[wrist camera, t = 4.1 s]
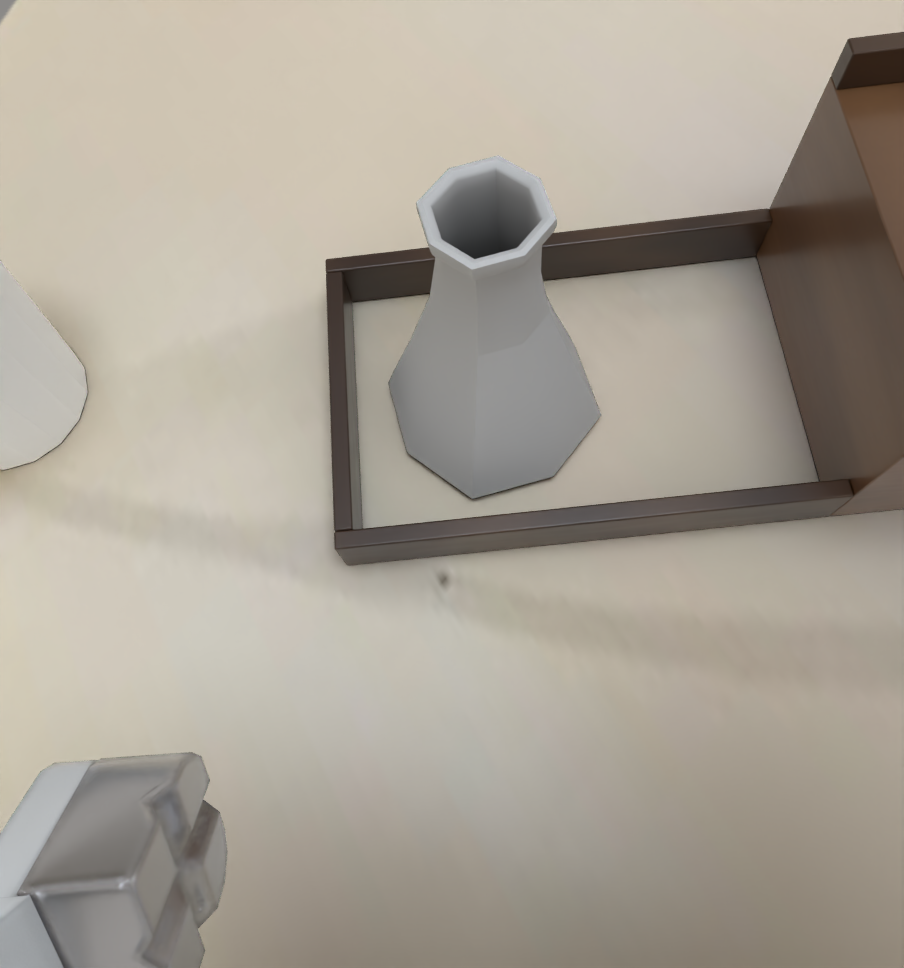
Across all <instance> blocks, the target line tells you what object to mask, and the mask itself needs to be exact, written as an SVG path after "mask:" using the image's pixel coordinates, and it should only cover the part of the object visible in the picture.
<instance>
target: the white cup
mask: <svg viewBox="0 0 904 968" xmlns="http://www.w3.org/2000/svg"><path fill="white" fill-rule="evenodd" d="M87 394H88V391H87V383H86V375H85V368H84V367H83V365H82V364H81V362H80V361H79V360H78V358H77V357H76V355H75V354H74V352H73V351H72V350H71V348H70V347H69V346H68V345H67V343H66V342H65V341H64V340H63V338H62V337H61V336H60V334H59V333H58V332H57V331H56V329H55V328H54V327H53V326H52V324H51V323H50V322H49V321H48V319H47V318H46V317H45V316H44V314H43V313H42V312H41V311H40V309H39V308H38V307H37V306H36V304H35V303H34V302H33V300H32V299H31V298H30V297H29V295H28V294H27V293H26V292H25V290H24V289H23V288H22V287H21V285H20V284H19V283H18V282H17V280H16V279H15V278H14V277H13V275H12V274H11V273H10V271H9V270H8V269H7V268H6V266H5V265H4V264H3V263H2V261H1V260H0V469H2V470H6V469H9V468H13V467H16V466H20V465H23V464H27V463H30V462H34V461H36V460H37V459H39V458H40V457H42V456H43V455H45V454H46V453H48V452H49V451H50V450H52V449H53V448H55V447H56V446H58V445H59V444H61V443H62V441H63V440H64V439H65V437H66V436H67V435H68V434H69V432H70V431H71V430H72V428H73V427H74V426H75V424H76V423H77V422H78V421H79V419H80V416H81V413H82V410H83V406H84V403H85V400H86V397H87Z"/></svg>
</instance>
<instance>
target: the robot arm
mask: <svg viewBox="0 0 904 968" xmlns="http://www.w3.org/2000/svg"><path fill="white" fill-rule="evenodd" d="M209 781H210V779H209V776H208V774H207V771H206V768H205V765H204V763H203V760H202V757H201V756H199V755H197V754H195V753H192V752H188V753H174V754H160V755H146V756H132V757H117V758H103V759H100V760H89V761H75V762H60V763H53V764H52V765H50V766H49V767H47V768H45V769H44V770H42V771H41V772H40V773H39V774H38V776H37V777H36V779H35V780H34V782H33V784H32V785H31V787H30V788H29V790H28V791H27V793H26V794H25V796H24V797H23V799H22V800H21V802H20V804H19V805H18V807H17V808H16V810H15V811H14V813H13V814H12V816H11V817H10V819H9V820H8V822H7V823H6V825H5V827H4V828H3V830H2V831H1V833H0V968H200V966H201V963H202V959H203V956H204V953H205V949H204V946H203V943H202V940H201V937H200V934H199V931H198V928H199V927H200V926H201V925H202V924H203V923H204V922H205V921H206V920H207V919H208V918H209V917H210V916H211V914H212V913H213V912H214V911H215V910H216V909H217V908H218V905H219V901H220V897H221V894H222V890H223V886H224V883H225V873H226V862H227V844H226V835H225V828H224V825H223V821H222V818H221V815H220V812H219V811H218V810H216V809H215V808H214V807H212V806H211V805H210V804H208V803H207V802H206V801H205V800H203V798H204V795H205V793H206V790H207V787H208V784H209Z"/></svg>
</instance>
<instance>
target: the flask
mask: <svg viewBox="0 0 904 968" xmlns="http://www.w3.org/2000/svg"><path fill="white" fill-rule="evenodd" d="M416 205H417V211H418V214H419V217H420V221H421V224H422V227H423V230H424V233H425V236H426V240H427V243H428V246H429V249H430V251H431V253H432V255H433V256H435V264H434V271H433V278H432V284H431V291H430V296H429V299H428V301H427V303H426V306H425V308H424V310H423V312H422V315H421V317H420V319H419V321H418V324H417V326H416V328H415V331H414V333H413V335H412V337H411V340H410V341H409V343H408V345H407V347H406V349H405V351H404V353H403V355H402V357H401V358H400V360H399V362H398V364H397V366H396V368H395V370H394V372H393V374H392V376H391V378H390V381H389V387H390V391H391V394H392V398H393V402H394V406H395V409H396V413H397V417H398V420H399V424H400V428H401V432H402V435H403V439H404V443H405V446H406V450H407V453H408V454H410V455H411V456H413V457H414V458H415V459H417V460H418V461H420V462H421V463H422V464H424V465H425V466H427V467H428V468H429V469H431V470H432V471H434V472H435V473H437V474H438V475H439V476H441V477H442V478H444V479H445V480H446V481H448V482H449V483H451V484H452V485H453V486H455V487H456V488H458V489H459V490H460V491H462V492H463V493H465V494H466V495H468V496H469V497H470V498H472V499H474V498H477V497H481V496H484V495H488V494H492V493H495V492H499V491H503V490H506V489H510V488H513V487H517V486H521V485H524V484H528V483H531V482H535V481H539V480H542V479H546V478H550V477H553V476H554V475H555V474H556V472H557V471H558V470H559V469H560V467H561V466H562V465H563V464H564V462H565V461H566V460H567V458H568V457H569V456H570V455H571V453H572V452H573V451H574V449H575V448H576V447H577V446H578V444H579V443H580V442H581V440H582V439H583V438H584V437H585V435H586V434H587V433H588V431H589V430H590V429H591V428H592V426H593V425H594V424H595V423H596V421H597V420H598V419H599V417H600V416H601V413H600V410H599V408H598V405H597V403H596V400H595V397H594V395H593V392H592V389H591V387H590V384H589V382H588V379H587V376H586V374H585V371H584V368H583V366H582V363H581V361H580V358H579V355H578V353H577V350H576V348H575V345H574V343H573V342H572V340H571V338H570V336H569V334H568V333H567V331H566V329H565V328H564V326H563V325H562V323H561V321H560V320H559V318H558V316H557V315H556V313H555V312H554V310H553V308H552V306H551V304H550V302H549V300H548V298H547V296H546V292H545V287H544V283H543V278H542V274H541V257H542V245H543V244H544V242H545V241H546V240H547V239H548V238H549V237H550V236H551V234H552V233H553V232H554V230H555V228H556V226H557V219H556V216H555V214H554V211H553V209H552V206H551V204H550V201H549V199H548V196H547V194H546V191H545V189H544V186H543V184H542V181H541V179H540V178H539V177H537V176H535V175H533V174H531V173H530V172H528V171H526V170H524V169H522V168H520V167H519V166H517V165H515V164H513V163H511V162H510V161H508V160H506V159H504V158H502V157H500V156H499V155H498V156H494V157H490V158H487V159H483V160H479V161H475V162H471V163H467V164H464V165H460V166H456V167H452V168H449V169H448V170H447V171H446V172H445V173H444V174H443V175H442V176H441V177H440V178H439V179H438V180H437V181H436V182H435V183H434V184H433V185H432V187H431V188H430V189H429V190H428V191H427V192H426V193H425V194H424V195H423V196H422V197H421V198H420V199H419V200H418V201H417V202H416Z"/></svg>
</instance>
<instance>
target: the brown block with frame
mask: <svg viewBox="0 0 904 968" xmlns="http://www.w3.org/2000/svg"><path fill="white" fill-rule="evenodd" d="M756 255H757V258H758V262H759V266H760V269H761V273H762V276H763V280H764V283H765V287H766V291H767V294H768V298H769V301H770V305H771V308H772V312H773V315H774V319H775V323H776V326H777V330H778V333H779V337H780V340H781V344H782V348H783V351H784V355H785V358H786V362H787V365H788V369H789V372H790V376H791V380H792V383H793V387H794V390H795V394H796V397H797V401H798V405H799V408H800V412H801V415H802V419H803V422H804V426H805V429H806V433H807V437H808V440H809V444H810V447H811V451H812V454H813V458H814V462H815V465H816V469H817V472H818V476H819V479H820V482H810V483H801V484H791V485H781V486H772V487H762V488H752V489H743V490H733V491H723V492H714V493H704V494H694V495H685V496H675V497H665V498H656V499H646V500H636V501H627V502H617V503H607V504H598V505H588V506H579V507H569V508H559V509H550V510H540V511H530V512H521V513H511V514H501V515H492V516H482V517H472V518H463V519H453V520H443V521H434V522H424V523H414V524H405V525H395V526H385V527H376V528H366V529H363V526H362V504H361V483H360V461H359V439H358V417H357V396H356V374H355V352H354V330H353V309H352V302H354V301H363V300H372V299H381V298H389V297H398V296H407V295H416V294H425V293H430V291H431V284H432V278H433V271H434V264H435V256H433V255H432V253H431V251H430V249H429V248H420V249H411V250H403V251H394V252H385V253H377V254H368V255H359V256H351V257H342V258H333V259H327V260H326V273H327V274H326V289H327V321H328V352H329V384H330V415H331V447H332V478H333V510H334V530H335V533H334V542H335V550H336V551H337V552H338V554H339V555H340V556H341V558H342V559H343V560H344V562H345V563H346V564H347V565H357V564H366V563H376V562H386V561H396V560H405V559H415V558H425V557H435V556H445V555H454V554H464V553H474V552H484V551H494V550H503V549H513V548H523V547H533V546H543V545H552V544H562V543H572V542H582V541H592V540H601V539H611V538H621V537H631V536H641V535H650V534H660V533H670V532H680V531H689V530H699V529H709V528H719V527H729V526H738V525H748V524H758V523H768V522H778V521H787V520H797V519H807V518H817V517H827V516H829V515H830V516H837V515H847V514H857V513H866V512H876V511H886V510H896V509H904V32H899V33H891V34H882V35H874V36H866V37H858V38H850V39H848V40H847V42H846V44H845V47H844V49H843V51H842V53H841V55H840V57H839V60H838V62H837V64H836V66H835V68H834V70H833V73H832V76H831V77H830V79H829V81H828V83H827V86H826V88H825V90H824V92H823V94H822V96H821V99H820V101H819V103H818V105H817V107H816V109H815V112H814V114H813V116H812V118H811V120H810V122H809V125H808V127H807V129H806V131H805V133H804V135H803V138H802V140H801V142H800V144H799V146H798V148H797V151H796V153H795V155H794V157H793V159H792V161H791V164H790V166H789V168H788V170H787V172H786V174H785V177H784V179H783V181H782V183H781V185H780V187H779V190H778V192H777V194H776V196H775V198H774V200H773V203H772V205H771V207H770V209H759V210H750V211H742V212H733V213H724V214H715V215H707V216H698V217H689V218H681V219H672V220H663V221H655V222H646V223H637V224H629V225H620V226H611V227H603V228H594V229H585V230H576V231H568V232H559V233H552V234H551V236H550V237H549V238H548V239H547V240H546V241H545V242H544V244H543V245H542V257H541V274H542V278H543V280H548V279H557V278H566V277H575V276H584V275H593V274H601V273H610V272H619V271H628V270H637V269H646V268H654V267H663V266H672V265H681V264H690V263H699V262H707V261H716V260H725V259H734V258H743V257H752V256H756Z"/></svg>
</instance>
